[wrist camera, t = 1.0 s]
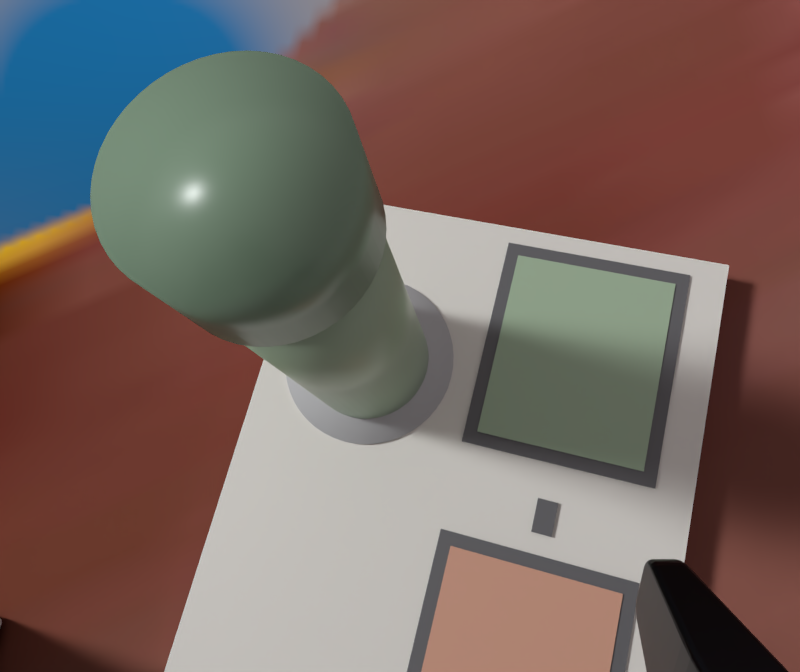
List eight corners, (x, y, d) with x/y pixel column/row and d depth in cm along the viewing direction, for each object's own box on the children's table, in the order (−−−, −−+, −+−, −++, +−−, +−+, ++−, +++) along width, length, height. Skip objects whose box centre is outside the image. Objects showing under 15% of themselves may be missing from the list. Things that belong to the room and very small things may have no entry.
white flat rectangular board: (624, 895, 18) (632, 918, 17) (161, 724, 21) (142, 734, 20) (719, 276, 22) (730, 263, 21) (323, 206, 25) (315, 191, 24)
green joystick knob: (415, 439, 21) (311, 329, 9) (286, 407, 22) (49, 271, 10) (448, 308, 22) (391, 68, 10) (324, 283, 23) (146, 36, 11)
